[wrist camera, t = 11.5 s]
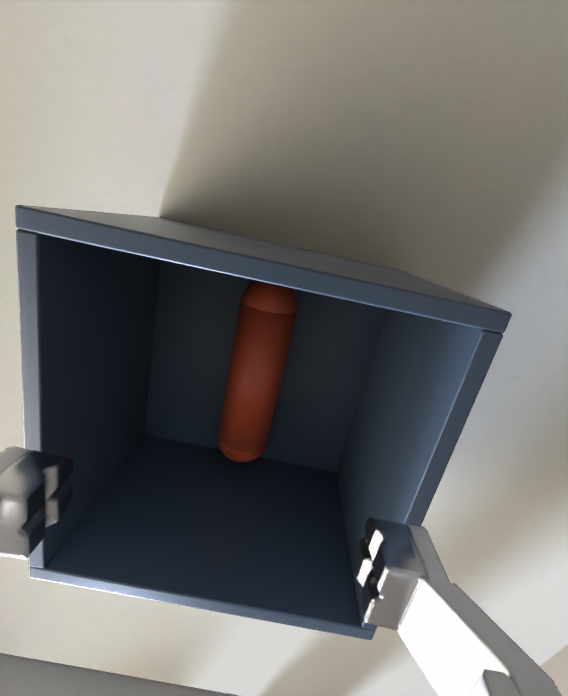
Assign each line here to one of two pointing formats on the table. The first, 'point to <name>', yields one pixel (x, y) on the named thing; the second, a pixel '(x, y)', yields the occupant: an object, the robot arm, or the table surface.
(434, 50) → the table surface
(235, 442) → the orange round-ended cylinder
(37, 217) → the bin
